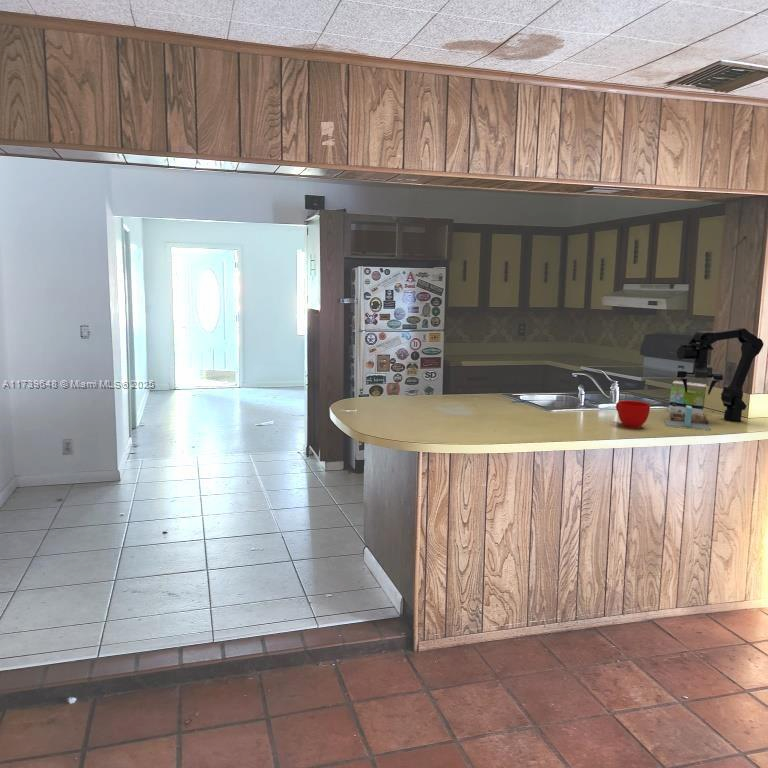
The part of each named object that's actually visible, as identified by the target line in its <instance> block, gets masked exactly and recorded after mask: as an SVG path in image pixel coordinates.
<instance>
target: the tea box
mask: <svg viewBox="0 0 768 768" xmlns="http://www.w3.org/2000/svg"><path fill="white" fill-rule="evenodd" d="M707 385H708V384H707V383H700V382H699V383H697V382H690V381H687V393H686V392H685V388H684V384H683V381H682V380H673V382H671V388H670V396H669V403H668V412H669V413H678V414H685V410H686V405H688V406H691V407H692V415H694V413H701V414H703V413H704V407H705V402H706V393H707Z"/></svg>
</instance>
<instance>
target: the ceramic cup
mask: <svg viewBox="0 0 768 768" xmlns="http://www.w3.org/2000/svg"><path fill="white" fill-rule="evenodd" d="M615 409H616V411H617V415H618V419H619V420H620V422H621V424H622V425H623V427H626V428H631V429H640V428H641V427H642V426H643V425H644V424H645V423H646V422H647V419H648V418H649V414H650V410H651V405H650V404H649V403H646V402H643V401H635V400H619V401H618V402H617V403H616V405H615ZM639 427H640V428H639Z"/></svg>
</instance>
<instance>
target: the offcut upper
mask: <svg viewBox="0 0 768 768" xmlns="http://www.w3.org/2000/svg"><path fill="white" fill-rule="evenodd" d="M704 416H705V415H704V414H703V413H702V414H701V413H694V418H695V419H703V417H704Z"/></svg>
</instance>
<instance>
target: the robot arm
mask: <svg viewBox="0 0 768 768" xmlns="http://www.w3.org/2000/svg"><path fill="white" fill-rule="evenodd" d="M730 339H737V341H738V342H739V343H740V344H741V346H740V350H741V351H740V352H741V357H740V359H739V360H738V361H739V362H738V365H737V367H736V370H735V371H734V375H733V377H732V379H731V382H730V384H729V385H728V386H724V387H723V389H722V392H721V394H720V396H721V397H720V399H721V402H722V404H723V407H724V408H725V409H724V411H723V418H722V419H723V420H724V421H726V422H733V423H736V422H737V423H742V414H743V411H745V410H746V409H747V404H746V403H745V402H744V401H743V396H744V393H743V386H744V385H745V381H746V378H747V376H748V374H749V371H750V369H751V366H752V364H753V360H754V359H755V357H757V355H759V354H760V353H761V351H762V349H763V347H764V342H763V340H762V339H761V338H760V337H759V338H758V337H757V336H756V335H755V334H753V333H751V332H750V331H749V330H747V328H744V327H737V328H731V329H725V330H724V329H723V330H718V331H707V330H706V331H704V330H698V331H695V333H694V335H693V337H692V338H691V339H690V340H689V342H688V343H687V344H684V343H683V344H680V347H679V348H678V349H677V351H676V356H677V358H678V360H684V361H685V360H687V361H688V360H689V361H690V360H691V361H692V360H693V362H692V363H693V364H692V365H693V366H692V372H688V371H687V370H685V369H677V370H676V371H675V372H676V374H675V377H676V378H679V380H681V381H683V384H684V388H685V392H686V393H687V382H688V379H687V377H691V378H692V377H694V378H696V379H699V378H702V379H707V378H709V379H710V380H709V385H708V391H707V395H708V396H709V395H711V392H712V390H713V388H714V386H715V385H716V383H718V382H720V381H723V380H724V374H723V373H722V372H720V371H719V372H716V371H713V367H709V366H708V362H709V353H710V351H711V350H712V351H714V349H715V348H714V347H713V346H712V344H715V343H716V342H718V341H722V340H723V341H724V340H730Z"/></svg>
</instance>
